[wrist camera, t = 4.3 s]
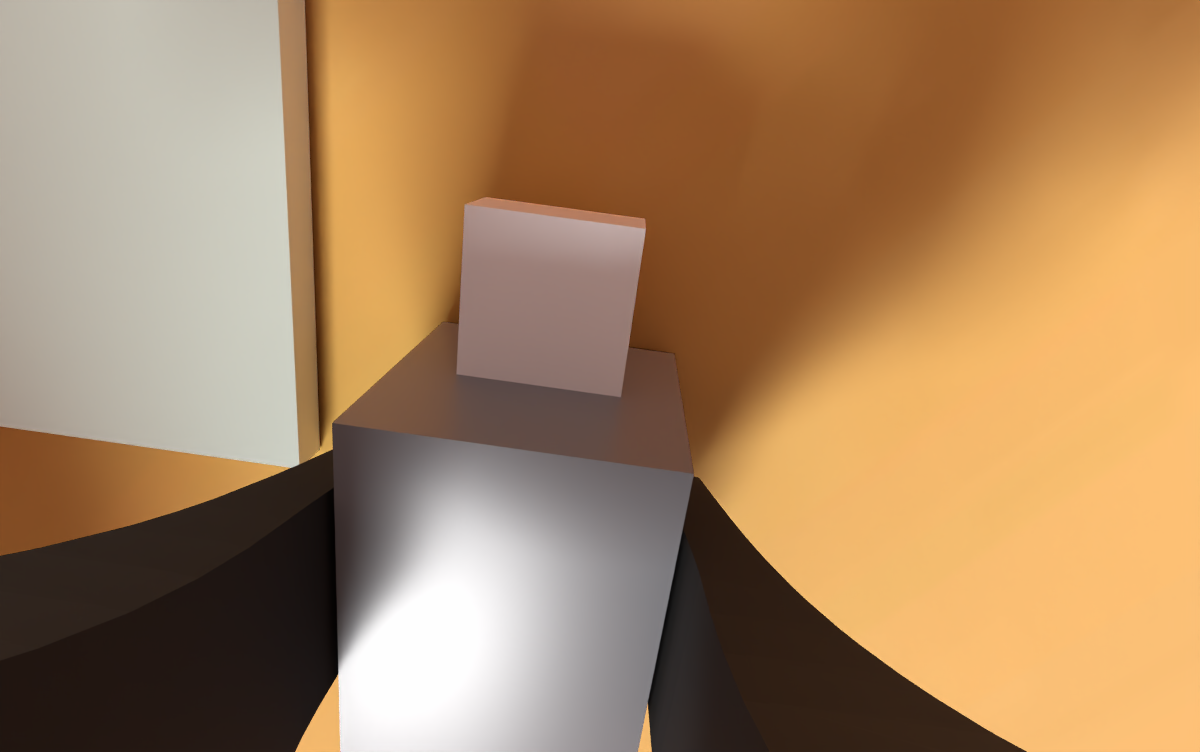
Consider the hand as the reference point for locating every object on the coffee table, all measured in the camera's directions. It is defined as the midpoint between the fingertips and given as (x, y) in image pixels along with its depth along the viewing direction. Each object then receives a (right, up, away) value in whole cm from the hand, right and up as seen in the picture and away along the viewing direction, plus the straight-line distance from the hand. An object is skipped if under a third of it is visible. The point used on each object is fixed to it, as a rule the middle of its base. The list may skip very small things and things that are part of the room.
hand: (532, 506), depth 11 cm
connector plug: (0, +1, +1) cm, 2 cm away
